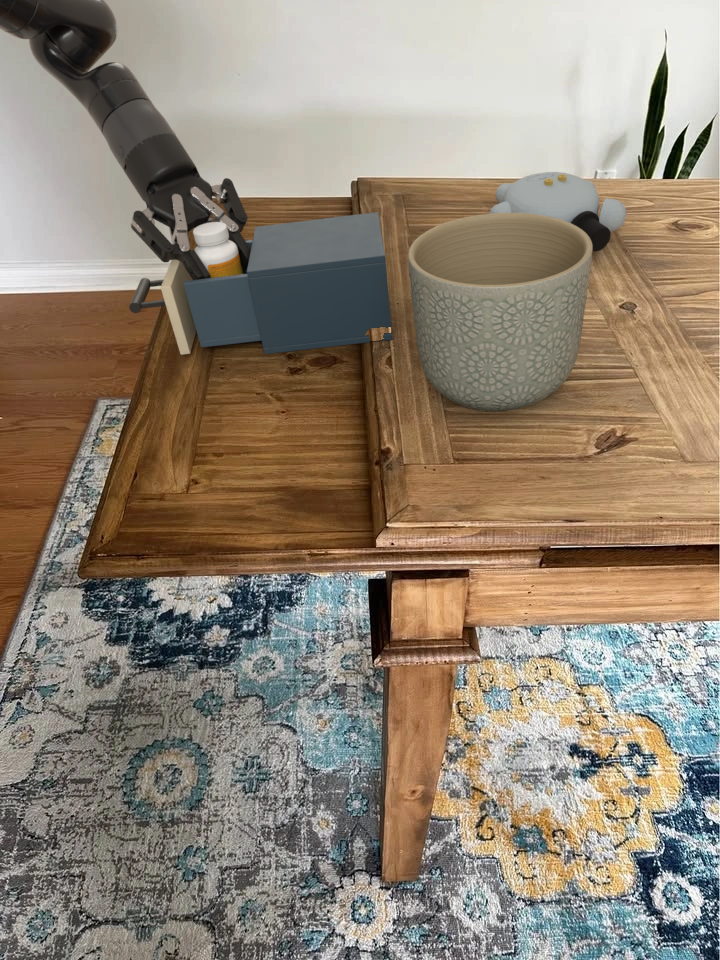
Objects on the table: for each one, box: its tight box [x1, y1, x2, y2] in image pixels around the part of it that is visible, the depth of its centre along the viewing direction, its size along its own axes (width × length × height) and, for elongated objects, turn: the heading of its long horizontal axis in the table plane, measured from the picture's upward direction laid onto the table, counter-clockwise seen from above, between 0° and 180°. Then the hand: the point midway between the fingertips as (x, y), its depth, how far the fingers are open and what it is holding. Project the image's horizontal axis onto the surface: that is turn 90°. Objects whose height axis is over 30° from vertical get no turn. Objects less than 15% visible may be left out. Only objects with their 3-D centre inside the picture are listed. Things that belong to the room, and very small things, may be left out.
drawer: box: [128, 239, 262, 356], centre depth 90 cm, size 20×12×9 cm, turn 92°
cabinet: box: [247, 211, 393, 355], centre depth 90 cm, size 16×14×11 cm
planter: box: [407, 213, 593, 413], centre depth 73 cm, size 17×17×15 cm
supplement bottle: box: [192, 222, 243, 278], centre depth 88 cm, size 5×5×10 cm
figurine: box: [489, 171, 627, 252], centre depth 103 cm, size 17×8×20 cm
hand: (227, 272), depth 87 cm, fingers closed on supplement bottle, 5 cm apart
